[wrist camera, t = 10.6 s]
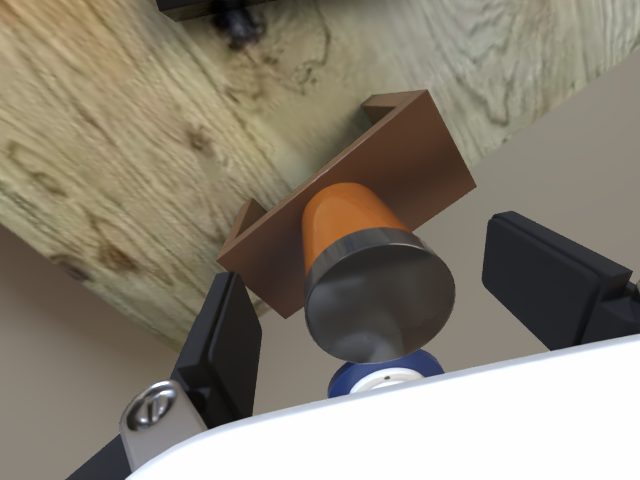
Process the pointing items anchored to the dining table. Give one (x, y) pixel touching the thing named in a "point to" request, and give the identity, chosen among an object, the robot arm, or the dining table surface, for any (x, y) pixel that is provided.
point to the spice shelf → (361, 168)
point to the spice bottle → (369, 278)
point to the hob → (201, 7)
